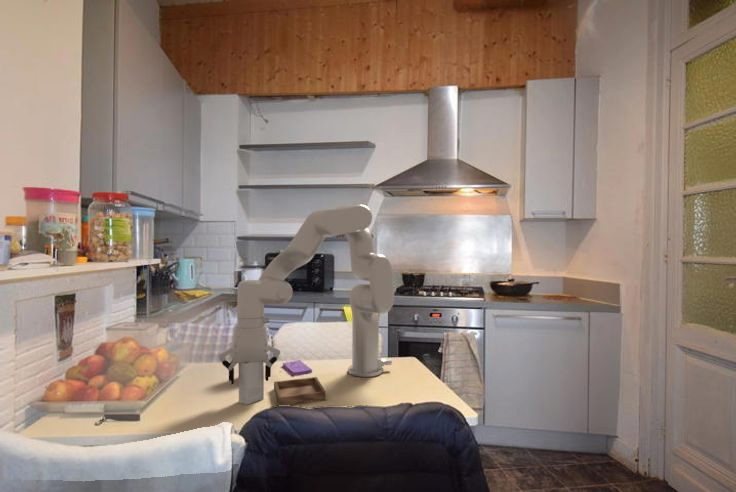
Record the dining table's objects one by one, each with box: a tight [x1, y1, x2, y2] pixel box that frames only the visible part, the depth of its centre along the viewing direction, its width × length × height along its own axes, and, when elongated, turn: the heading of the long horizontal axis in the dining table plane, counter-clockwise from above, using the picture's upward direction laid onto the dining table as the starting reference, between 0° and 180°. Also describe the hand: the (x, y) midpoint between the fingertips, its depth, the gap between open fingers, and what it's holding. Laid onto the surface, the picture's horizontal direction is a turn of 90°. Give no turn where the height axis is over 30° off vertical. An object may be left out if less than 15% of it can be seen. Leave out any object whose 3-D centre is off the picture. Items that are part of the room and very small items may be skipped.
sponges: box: [282, 359, 313, 377], centre depth 146 cm, size 7×13×2 cm, turn 30°
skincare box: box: [238, 361, 265, 406], centre depth 117 cm, size 6×4×12 cm
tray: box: [273, 376, 327, 406], centre depth 122 cm, size 14×14×2 cm
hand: (249, 381), depth 117 cm, fingers open, 9 cm apart
